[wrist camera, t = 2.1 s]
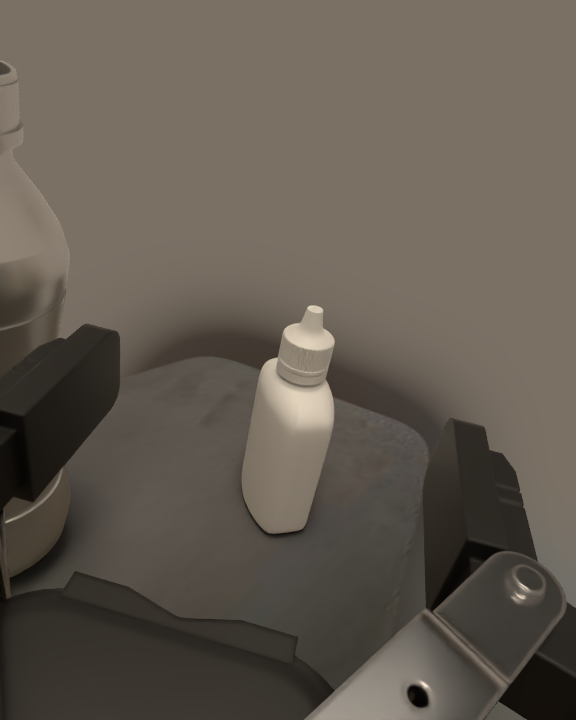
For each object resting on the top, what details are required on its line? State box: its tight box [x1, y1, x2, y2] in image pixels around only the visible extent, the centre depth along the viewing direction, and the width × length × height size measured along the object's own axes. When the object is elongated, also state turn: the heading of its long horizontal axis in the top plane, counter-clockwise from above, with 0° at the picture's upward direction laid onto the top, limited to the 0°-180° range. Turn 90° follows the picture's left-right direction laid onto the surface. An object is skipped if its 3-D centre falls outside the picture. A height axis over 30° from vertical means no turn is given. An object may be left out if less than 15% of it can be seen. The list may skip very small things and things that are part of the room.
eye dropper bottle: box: [241, 306, 335, 534], centre depth 27 cm, size 4×6×12 cm
